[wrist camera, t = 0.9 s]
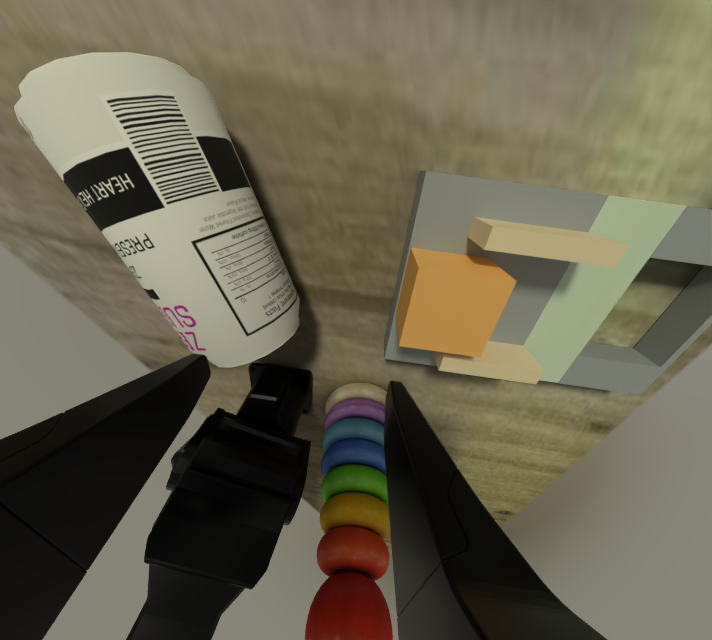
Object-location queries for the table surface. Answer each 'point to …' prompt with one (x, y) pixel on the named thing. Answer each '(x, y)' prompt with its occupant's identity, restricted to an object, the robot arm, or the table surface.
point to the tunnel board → (561, 278)
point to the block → (450, 302)
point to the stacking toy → (353, 519)
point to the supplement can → (166, 196)
